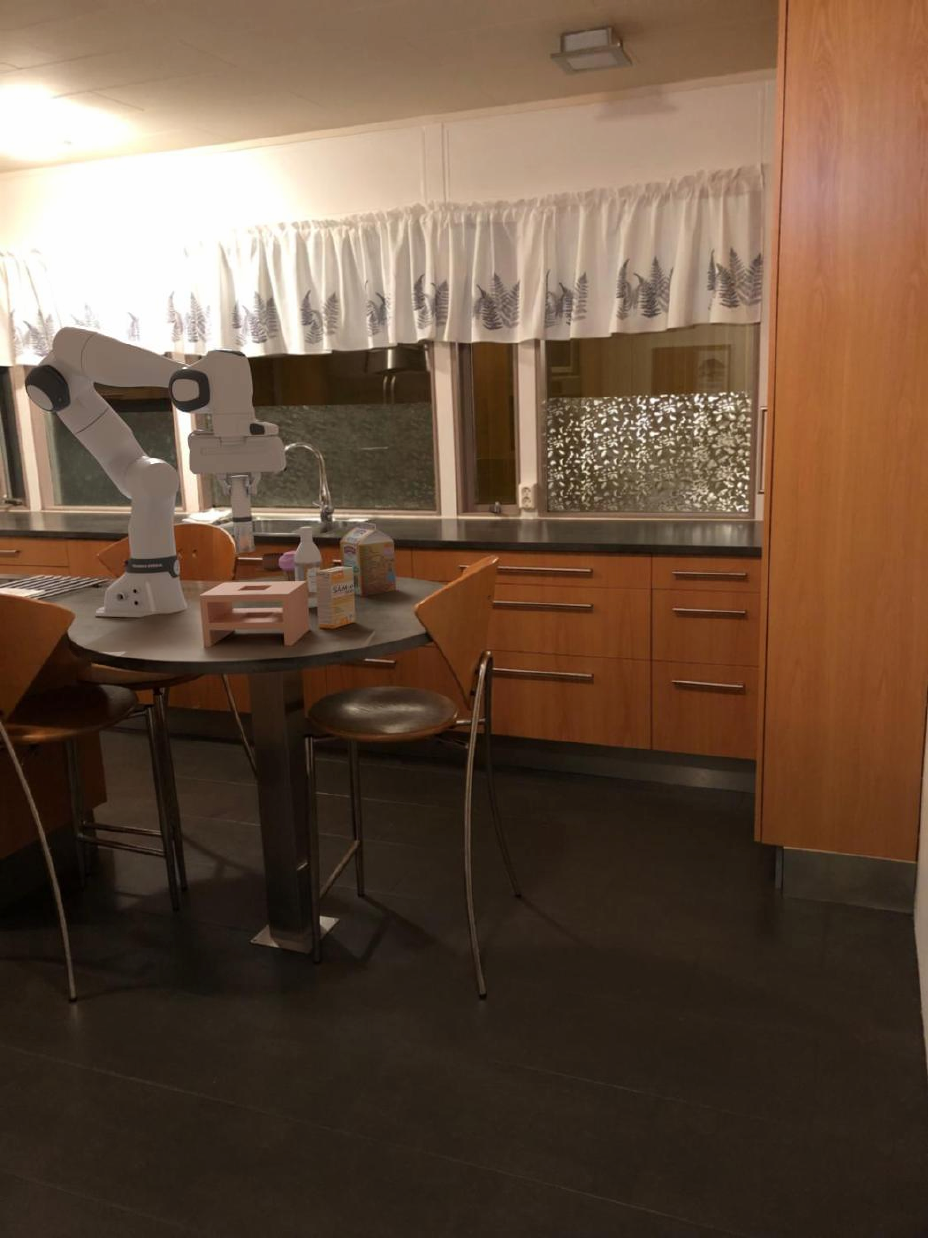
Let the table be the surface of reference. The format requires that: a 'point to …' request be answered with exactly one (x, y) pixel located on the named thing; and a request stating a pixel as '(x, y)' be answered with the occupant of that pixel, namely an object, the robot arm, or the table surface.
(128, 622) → the table surface
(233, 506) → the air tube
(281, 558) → the cupcake
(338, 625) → the supplement box
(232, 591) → the collar frame
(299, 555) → the bath foam
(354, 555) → the milk carton
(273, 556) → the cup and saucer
